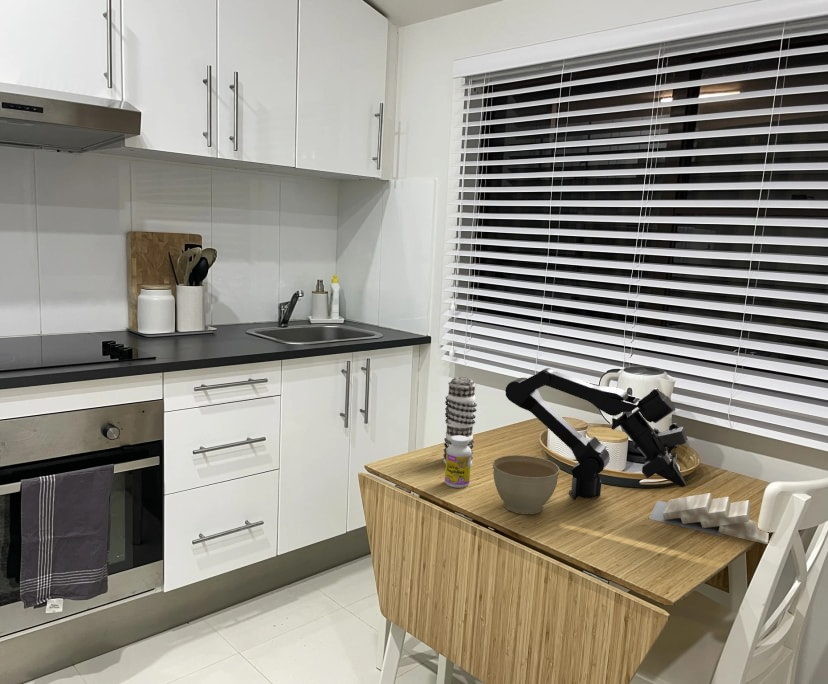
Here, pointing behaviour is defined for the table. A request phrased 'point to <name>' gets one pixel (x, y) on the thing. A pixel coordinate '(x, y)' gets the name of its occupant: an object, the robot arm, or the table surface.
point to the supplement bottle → (458, 462)
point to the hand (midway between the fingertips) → (684, 486)
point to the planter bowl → (525, 482)
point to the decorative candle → (460, 411)
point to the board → (658, 516)
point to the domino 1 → (687, 506)
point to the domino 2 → (711, 511)
